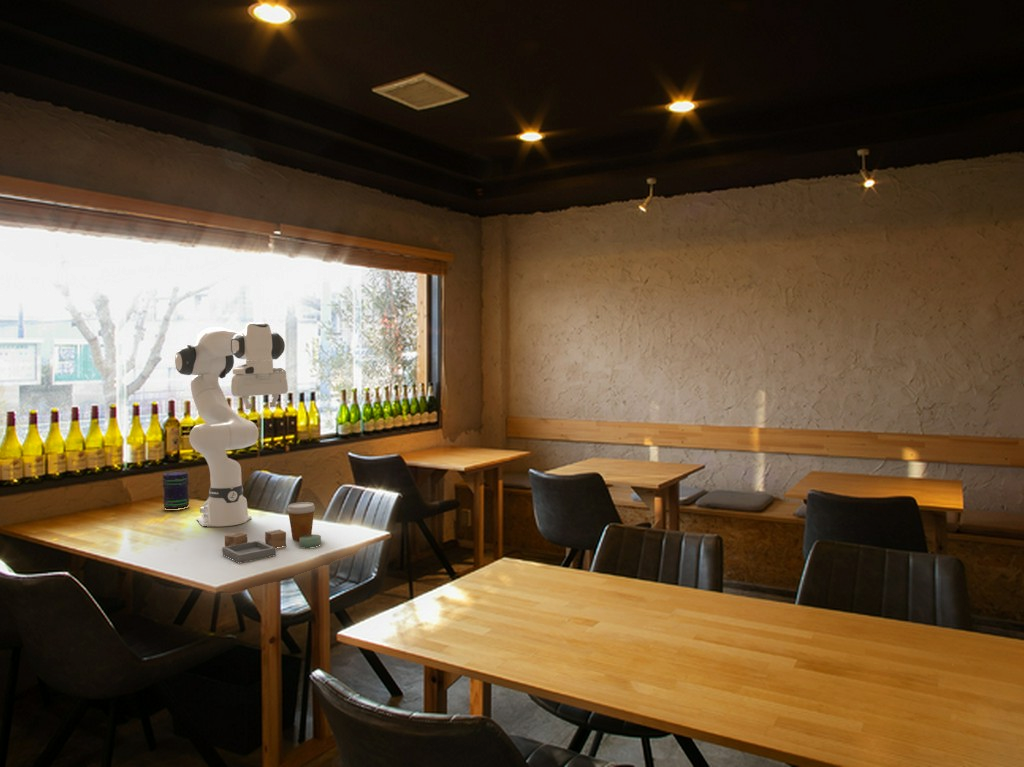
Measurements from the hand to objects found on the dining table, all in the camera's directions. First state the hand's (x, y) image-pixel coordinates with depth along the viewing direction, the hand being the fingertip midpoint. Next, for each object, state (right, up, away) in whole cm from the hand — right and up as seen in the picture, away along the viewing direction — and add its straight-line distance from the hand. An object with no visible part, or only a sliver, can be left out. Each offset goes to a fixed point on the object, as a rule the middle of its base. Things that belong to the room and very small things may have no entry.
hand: (260, 408), depth 259 cm
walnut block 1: (-4, -47, -13) cm, 48 cm away
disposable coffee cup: (+14, -46, 0) cm, 48 cm away
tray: (+3, -47, -20) cm, 51 cm away
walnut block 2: (+8, -46, -10) cm, 48 cm away
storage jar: (-53, -44, +52) cm, 86 cm away
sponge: (+20, -46, -9) cm, 51 cm away
